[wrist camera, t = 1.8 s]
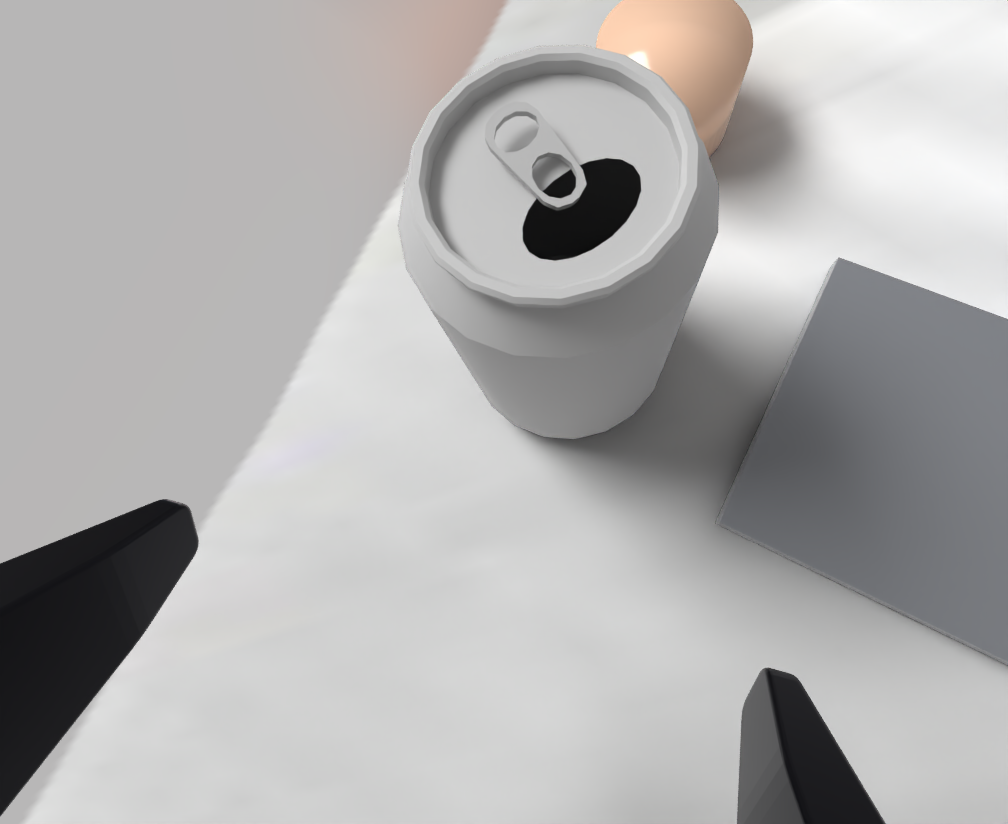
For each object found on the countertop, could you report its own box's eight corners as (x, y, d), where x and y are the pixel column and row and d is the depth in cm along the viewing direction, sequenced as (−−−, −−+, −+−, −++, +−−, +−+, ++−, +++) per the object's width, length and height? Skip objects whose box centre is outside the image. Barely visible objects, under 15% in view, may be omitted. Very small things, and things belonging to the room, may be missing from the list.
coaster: (1043, 682, 19) (1062, 688, 18) (715, 523, 22) (719, 522, 21) (1146, 384, 21) (1168, 377, 20) (830, 267, 23) (838, 257, 22)
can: (556, 483, 23) (525, 408, 11) (438, 344, 25) (307, 158, 13) (704, 358, 23) (823, 159, 12) (576, 231, 25) (568, -48, 14)
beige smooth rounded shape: (686, 198, 25) (705, 132, 21) (570, 144, 26) (567, 73, 22) (751, 94, 26) (781, 12, 22) (635, 47, 27) (643, -38, 23)
